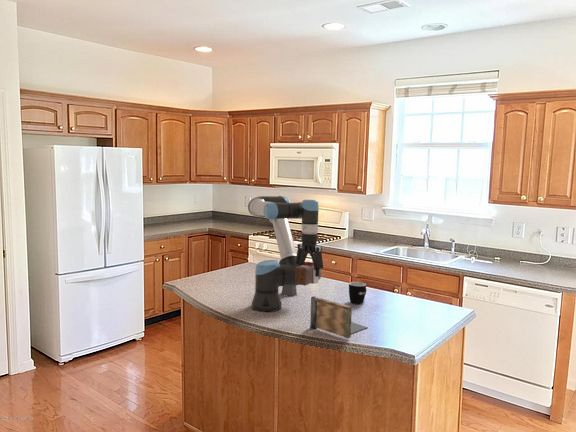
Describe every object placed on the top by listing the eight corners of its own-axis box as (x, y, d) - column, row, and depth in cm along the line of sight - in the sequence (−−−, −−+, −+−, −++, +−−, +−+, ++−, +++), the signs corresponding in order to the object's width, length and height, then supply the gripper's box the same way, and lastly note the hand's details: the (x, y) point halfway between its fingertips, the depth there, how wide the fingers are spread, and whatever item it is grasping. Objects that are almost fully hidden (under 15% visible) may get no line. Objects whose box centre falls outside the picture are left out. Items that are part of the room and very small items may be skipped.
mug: (358, 306, 240) (359, 287, 239) (344, 302, 246) (345, 283, 245) (372, 302, 248) (373, 283, 247) (358, 298, 255) (359, 280, 254)
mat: (326, 329, 205) (326, 328, 205) (348, 321, 215) (348, 320, 215) (345, 336, 197) (345, 335, 197) (367, 328, 208) (367, 327, 207)
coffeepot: (281, 297, 253) (282, 264, 251) (275, 292, 261) (275, 261, 259) (307, 295, 259) (308, 263, 257) (300, 290, 267) (300, 259, 265)
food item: (307, 278, 224) (308, 258, 223) (322, 281, 219) (323, 260, 219) (293, 284, 212) (293, 262, 211) (308, 286, 208) (309, 264, 207)
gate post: (308, 328, 206) (309, 297, 204) (313, 326, 208) (314, 296, 206) (313, 329, 203) (314, 298, 202) (318, 328, 206) (319, 297, 204)
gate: (315, 327, 203) (316, 298, 202) (319, 326, 205) (320, 297, 203) (347, 338, 192) (348, 307, 190) (350, 337, 193) (351, 306, 192)
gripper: (288, 231, 220) (287, 278, 222) (320, 236, 204) (319, 286, 206) (299, 230, 225) (298, 276, 227) (332, 234, 209) (331, 284, 211)
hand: (308, 281), depth 216 cm, fingers closed on food item, 8 cm apart
